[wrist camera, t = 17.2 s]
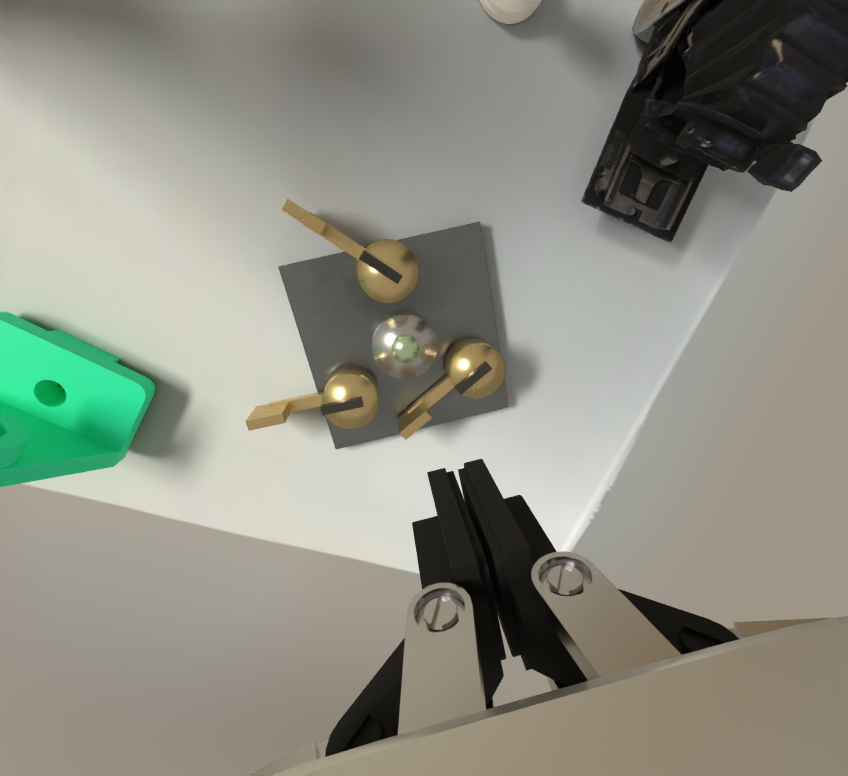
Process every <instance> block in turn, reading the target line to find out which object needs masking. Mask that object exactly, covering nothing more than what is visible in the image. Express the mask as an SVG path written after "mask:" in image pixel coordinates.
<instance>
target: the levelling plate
mask: <svg viewBox="0 0 848 776" xmlns="http://www.w3.org/2000/svg"><path fill="white" fill-rule="evenodd" d="M396 241H398V242H400V243H402V244H404V245H405V246H406V247H408V248H409V249H410V250H411V252H412V253H413V255H414V256H415V258H416V261H417V264H418V279H417V283H416V285H415V287H414V289H413V290H412V292H411V293H410V294H409V295H408V296H407V297H405V298H404V299H402V300H400V301H397V302H393V303H383V302H379V301H377V300H374V299H373V298H371V297H370V296H368V295H367V294H366V293H365V291H364V290H363V289H362V287H361V285H360V283H359V280H358V276H357V265H358V261H359V260H358V259H356V258H354V257H353V256H351V255H350V254H348V253H347V252H342V253H337V254H333V255H328V256H324V257H320V258H315V259H311V260H306V261H302V262H297V263H293V264H288V265H284V266H279V270H280V274H281V277H282V280H283V283H284V286H285V289H286V293H287V296H288V299H289V302H290V305H291V308H292V312H293V315H294V318H295V321H296V324H297V327H298V331H299V334H300V337H301V340H302V343H303V347H304V350H305V353H306V356H307V359H308V362H309V366H310V369H311V372H312V375H313V378H314V381H315V385H316V388H317V391H318V393H319V392H324V389H325V386H326V383H327V381H328V379H329V377H330V376H331V375H332V374H333V373H334V372H335V371H336V370H338V369H340V368H342V367H347V366H356V367H360V368H363V369H365V370H366V371H368V372H369V373H370V374H371V375H372V376H373V377H374V379H375V381H376V383H377V387H378V409H377V412H376V414H375V416H374V418H373V419H372V420H371V421H370V422H369V423H367V424H366V425H364V426H362V427H360V428H356V429H345V428H341V427H338V426H336V425H334V424H333V423H331V422H330V421H329V420H328V419H327V417H326V420H327V423H328V426H329V429H330V432H331V435H332V439H333V442H334V445H335V448H336V449H339V448H343V447H348V446H352V445H356V444H360V443H364V442H368V441H372V440H376V439H380V438H384V437H388V436H392V435H396V434H400V433H399V428H398V422H397V418H398V417H399V416H400V415H401V414H403V413H404V412H405V411H406V410H407V408H409V407H410V406H411V405H412V404H413V403H415V402H416V401H417V400H418V399H419V398H421V397H422V396H423V395H424V394H425V393H427V392H428V391H429V390H430V389H431V388H432V387H434V386H435V385H436V384H437V383H438V382H440V381H441V380H442V379H443V378H444V377H446V376H447V373H446V370H445V358H446V355H447V352H448V351H449V349H450V348H451V347H452V346H453V345H454V344H455V343H456V342H458V341H459V340H462V339H465V338H478V339H481V340H483V341H484V342H486V343H487V344H488V345H490V346H491V347H492V348H494V349H495V350H496V351H497V352H498V353H499V354H500V349H499V343H498V336H497V330H496V323H495V317H494V310H493V304H492V297H491V291H490V284H489V278H488V271H487V265H486V258H485V252H484V245H483V239H482V232H481V226H480V222H477V223H472V224H468V225H463V226H459V227H454V228H450V229H445V230H441V231H436V232H432V233H427V234H423V235H418V236H414V237H409V238H405V239H400V240H396ZM364 248H365V249H366V248H367V247H364ZM506 407H508V401H507V394H506V388H505V381H504V379H503V381H502V383H501V385H500V386H499V388H498V389H497V390H496V391H495V392H493V393H492V394H490V395H489V396H486V397H483V398H470V397H467V396H464V395H461V394H460V393H459V392H458V391H457V390H456V389H455V387H454V388H453V389H451V390H450V391H449V392H448V393H447V394H445V395H444V396H443V397H442V398H441V399H439V400H438V401H437V402H436V403H435V404H433V405H432V406H431V407H430V408H429V411H430V414H431V417H432V418H431V419H430V420H429V421H428V422H426V423H425V424H424V425H423V426H422V427H420V428H419V429H421V428H425V427H429V426H433V425H437V424H441V423H445V422H449V421H453V420H457V419H461V418H465V417H469V416H474V415H478V414H482V413H486V412H490V411H494V410H498V409H502V408H506Z"/></svg>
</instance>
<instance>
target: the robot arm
mask: <svg viewBox="0 0 848 776" xmlns="http://www.w3.org/2000/svg"><path fill="white" fill-rule="evenodd" d="M458 471H459V477H460V481H461V486H462V491H463V496H464V499H463V496H462V493H461V491H460V488H459V485H458V483H457V480H456V477H455V475H454V472H453V471H451V472H447V473H446V470H445V468H443V469H439V470H435V471H431V472H427V473H428V478H429V482H430V486H431V490H432V494H433V499H434V503H435V507H436V511H437V515H438V516H435V517H432V518H428V519H424V520H420V521H416V522H412V525H413V532H414V538H415V545H416V551H417V558H418V564H419V571H420V577H421V584H422V590H421V591H420V592H419V593H417V594H416V595H415V596H414V598H413V599H412V601H411V602H410V604H409V607H408V611H407V619H406V632H405V638H404V639H403V641H402V642H401V643H400V644H399V646H398V647H397V648H396V650H395V651H394V652H393V653H392V655H391V656H390V657H389V658H388V660H387V661H386V662H385V663H384V665H383V666H382V667H381V669H380V670H379V671H378V672H377V674H376V675H375V676H374V678H373V679H372V680H371V681H370V682H369V684H368V685H367V686H366V688H365V689H364V690H363V691H362V693H361V694H360V695H359V696H358V698H357V699H356V700H355V702H354V703H353V704H352V705H351V707H350V708H349V709H348V710H347V712H346V713H345V714H344V715H343V717H342V718H341V720H340V721H339V722H338V723H337V725H336V727H335V728H334V730H333V731H332V733H331V735H330V738H329V739H328V740H326V741H324V742H322V743H320V744H319V745H316V742H315V740H313V741H311V742H309V743H307V744H305V745H304V746H302V747H300V748H298V749H296V750H295V751H293V752H291V753H289V754H287V755H285V756H283V757H281V758H280V759H278V760H276V761H274V762H272V763H270V764H269V765H267V766H265V767H263V768H261V769H259V770H257V771H256V772H254V773H252V774H250V775H248V776H848V616H846V617H837V618H820V619H819V618H818V619H796V620H776V621H753V622H735V623H734V629H727V628H725V627H724V626H722V625H720V624H718V623H716V622H713V621H711V620H709V619H707V618H704V617H701V616H697V615H694V614H692V613H689V612H686V611H683V610H679V609H677V608H673V607H671V606H667V605H665V604H662V603H659V602H655V601H653V600H650V599H647V598H644V597H641V596H637V595H635V594H632V593H629V592H626V591H623V590H620V589H617V588H616V587H615V586H614V585H613V583H611V581H610V580H609V579H608V578H607V577H606V576H605V575H604V574H603V573H602V572H601V571H600V570H599V569H598V568H597V567H596V566H595V565H594V564H593V563H592V562H591V561H589V560H588V559H587V558H585V557H583V556H580V555H578V554H576V553H571V552H556V550H555V548H554V547H553V545H552V544H551V542H550V540H549V539H548V537H547V536H546V534H545V532H544V531H543V529H542V527H541V526H540V524H539V523H538V521H537V519H536V518H535V516H534V515H533V513H532V511H531V510H530V508H529V507H528V505H527V503H526V502H525V500H524V499H523V497H522V496H521V495H517V496H513V497H509V498H505V499H503V497H502V495H501V493H500V491H499V489H498V487H497V486H496V484H495V482H494V480H493V478H492V476H491V474H490V473H489V471H488V469H487V467H486V465H485V463H484V462H483V460H482V459H479V460H475V461H471V462H467V463H464V468H463V469H459V470H458ZM464 500H465V501H464ZM497 614H498V615H497ZM498 617H499V620H500V623H501V625H502V628H503V631H504V633H505V637H506V640H507V642H508V645H509V648H510V651H511V654H512V656H513V657H515V656H519V655H521V658H522V660H523V663H524V666H525V668H526V670H529V669H534V670H535V671H537V672H539V673H541V674H543V675H545V676H547V680H548V683H549V685H550V688H551V690H552V691H551V692H547V693H543V694H540V695H536V696H533V697H529V698H526V699H522V700H518V701H515V702H511V703H508V704H504V705H501V706H497V707H495V704H494V699H493V695H494V693H495V691H496V689H497V687H498V686H499V684H500V682H501V680H502V678H503V676H504V675H503V670H502V665H501V660H504V659H506V655H505V650H504V645H503V640H502V635H501V630H500V625H499V620H498Z"/></svg>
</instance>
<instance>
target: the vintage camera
mask: <svg viewBox="0 0 848 776" xmlns="http://www.w3.org/2000/svg"><path fill="white" fill-rule="evenodd" d="M632 29H633V32H634V35H636V36H637V37H638V38H640V39H641V40H643V41H645V42H646V43H648V44H647V47H646V49H645V51H644V53H643V56H642V58H641V60H640V63H639V66H638V70H637V74H636V75H635V77H634V79H633V81H632V83H631V85H630V87H629V88H628V90H627V92H626V95H625V97H624V99H623V102H622V104H621V107H620V109H619V111H618V114H617V116H616V119H615V121H614V123H613V126H612V128H611V130H610V133H609V135H608V138H607V140H606V143H605V145H604V148H603V150H602V152H601V155H600V157H599V159H598V162H597V164H596V167H595V169H594V171H593V174H592V176H591V179H590V181H589V184H588V186H587V188H586V191H585V193H584V196H583V198H582V200H581V202H582V203H584V204H586V205H589V206H591V207H593V208H595V209H598V210H600V211H602V212H604V213H607V214H609V215H611V216H613V217H615V218H618V219H620V220H622V221H624V222H626V223H628V224H630V225H632V226H635V227H637V228H639V229H641V230H643V231H645V232H647V233H650V234H652V235H654V236H656V237H658V238H661V239H663V240H665V241H667V242H672V240H673V238H674V236H675V234H676V232H677V230H678V227H679V225H680V223H681V221H682V219H683V217H684V215H685V213H686V211H687V208H688V206H689V204H690V202H691V200H692V198H693V196H694V194H695V192H696V190H697V187H698V185H699V183H700V181H701V179H702V177H703V175H704V173H705V171H706V169H707V167H708V164H709V165H711V166H714V167H717V168H719V169H721V170H722V171H725V170H727V169H731V170H734V171H737V172H742V173H743V172H745V171H746V170H747V169H748V168H749V167H750V166H751V164H752V163H753V162H754V160H755V161H756V162H757V163H755V164H754V165H752V166H751V168H750V169H749V170H748V172H749V173H750V174H751V175H752V176H753V177H754V178H755V179H756V180H757V181H758V182H760V183H762V184H763V185H770V186H773V187H776V188H778V189H781V190H786V191H790V192H792V191H793V190H794V189H795V188H797V187H798V186H799V185H800V184H801V183H802V182H803V181H804V180H805V179H806V177H807V176H808V175H809V174H810V173H811V172H812V171H813V170H814V169H815V168H816V167H817V166H818V165H819V164H820V162H821V161H822V160H821V159H820V157H819V155H818V154H817V152H816V151H813V150H811V149H809V148H807V147H804V146H802V145H800V144H793V143H792V142H790V141H791V140H794V139H796V134H798V133H800V132H802V131H804V130H806V129H807V123H808V122H810V121H811V120H812V119H813V118H814V117H816V116H817V115H818V113H820V112H821V110H822V107H823V105H824V103H825V101H826V100H827V99H829V98H831V97H832V96H834V95H836V94H838V93H839V92H841V91H843V90H844V89H845V87H847V85H846V82H848V0H645V2H644V3H643V5H642V6H641V8H640V10H639V12H638V14H637V17H636V19H635V22H634V25H633V28H632Z"/></svg>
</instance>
